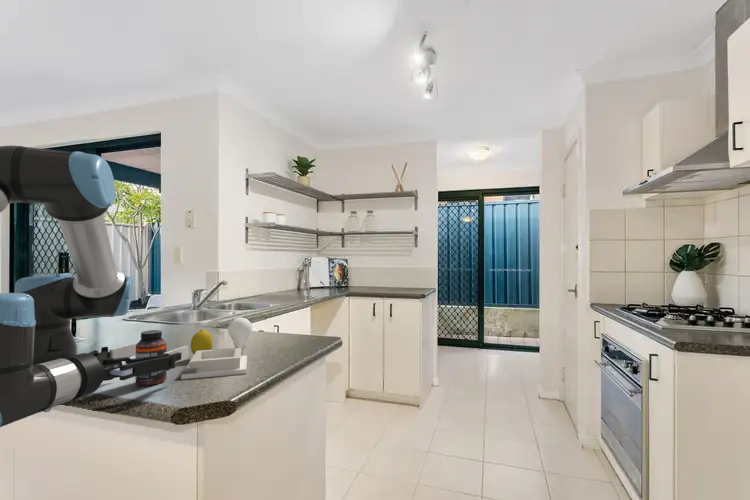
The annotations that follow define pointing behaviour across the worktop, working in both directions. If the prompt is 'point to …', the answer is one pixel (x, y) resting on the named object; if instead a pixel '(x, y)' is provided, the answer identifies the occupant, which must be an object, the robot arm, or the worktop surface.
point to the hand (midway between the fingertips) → (161, 350)
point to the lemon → (201, 341)
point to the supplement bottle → (151, 347)
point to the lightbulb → (240, 332)
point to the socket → (215, 363)
